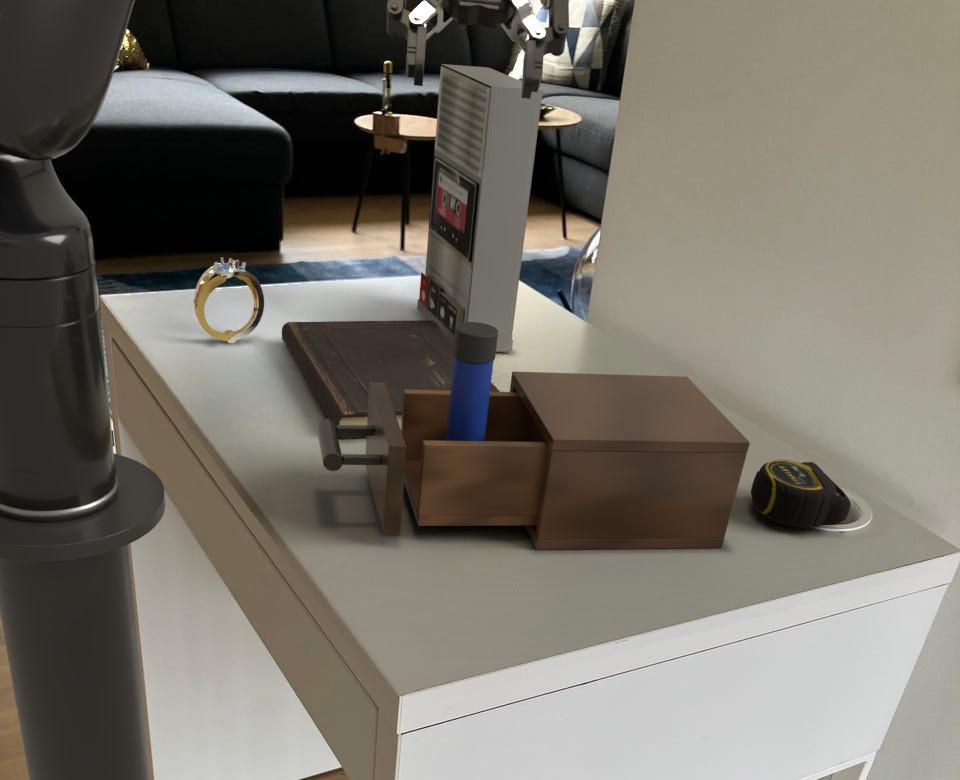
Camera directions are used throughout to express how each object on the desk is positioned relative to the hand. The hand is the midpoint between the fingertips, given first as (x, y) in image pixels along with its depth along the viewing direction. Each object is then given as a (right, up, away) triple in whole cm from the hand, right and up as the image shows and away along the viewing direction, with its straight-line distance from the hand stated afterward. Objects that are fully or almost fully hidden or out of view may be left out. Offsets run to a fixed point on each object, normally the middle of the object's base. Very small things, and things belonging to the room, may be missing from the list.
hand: (473, 85), depth 83 cm
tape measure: (+26, -33, +4) cm, 42 cm away
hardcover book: (-8, -19, +18) cm, 28 cm away
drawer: (-3, -32, -2) cm, 33 cm away
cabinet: (+11, -33, +2) cm, 34 cm away
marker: (-1, -31, -2) cm, 32 cm away
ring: (-24, -14, +24) cm, 37 cm away
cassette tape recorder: (-1, -10, +33) cm, 35 cm away
